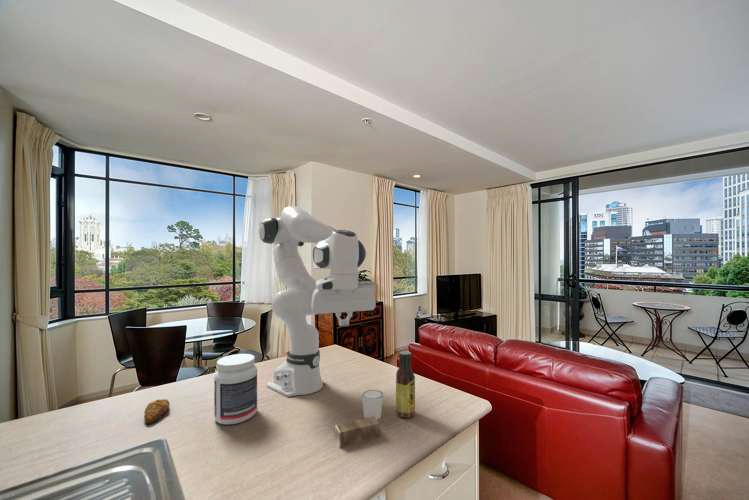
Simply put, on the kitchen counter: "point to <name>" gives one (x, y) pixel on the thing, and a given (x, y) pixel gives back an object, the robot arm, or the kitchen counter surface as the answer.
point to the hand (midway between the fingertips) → (343, 325)
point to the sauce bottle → (405, 387)
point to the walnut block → (357, 431)
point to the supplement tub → (235, 389)
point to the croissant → (155, 410)
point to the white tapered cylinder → (372, 403)
